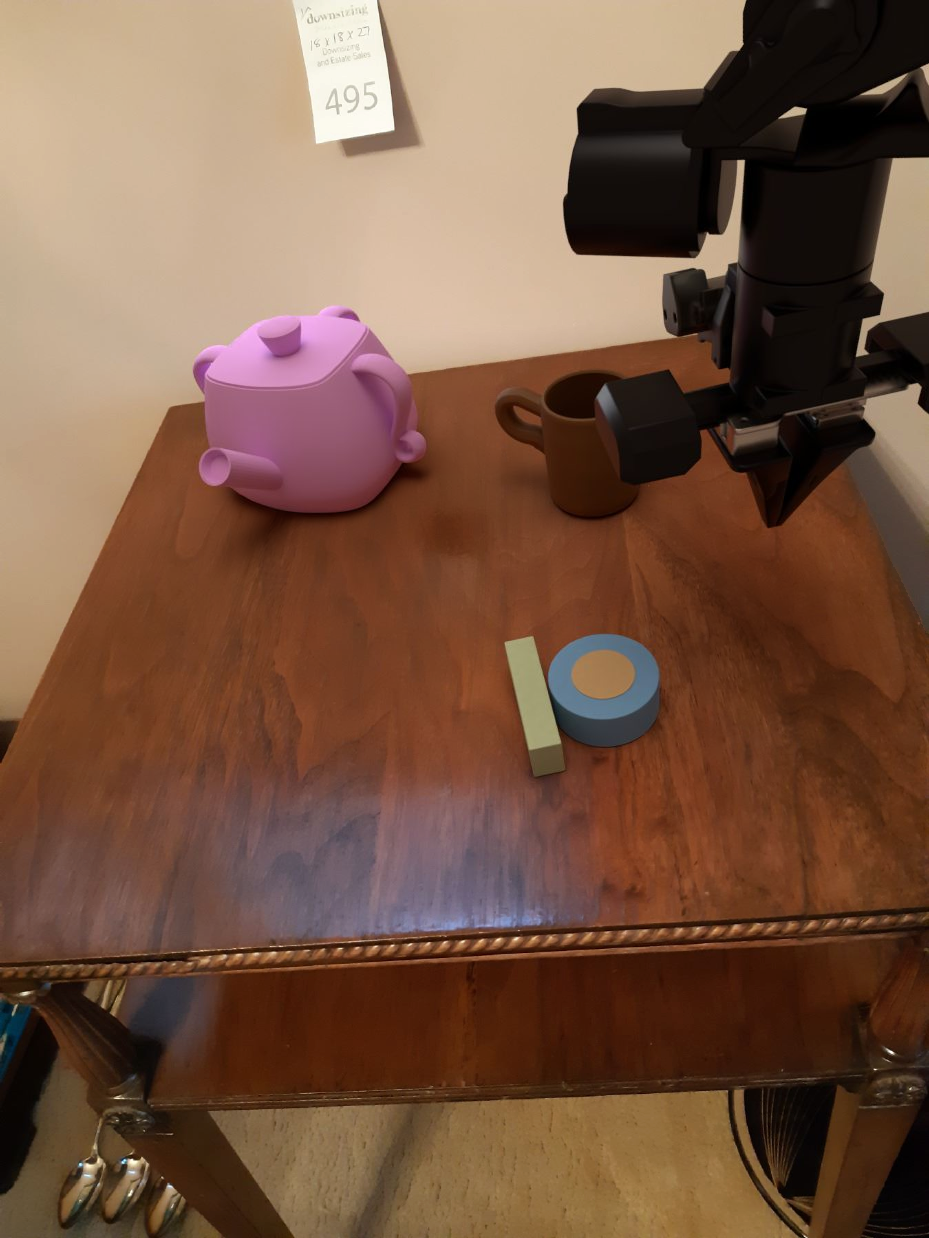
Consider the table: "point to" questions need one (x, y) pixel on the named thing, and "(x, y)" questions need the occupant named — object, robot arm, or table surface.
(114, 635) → the table surface
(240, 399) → the teapot
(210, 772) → the table surface
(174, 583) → the table surface
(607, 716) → the tape roll
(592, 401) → the mug
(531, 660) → the stop block
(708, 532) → the table surface
